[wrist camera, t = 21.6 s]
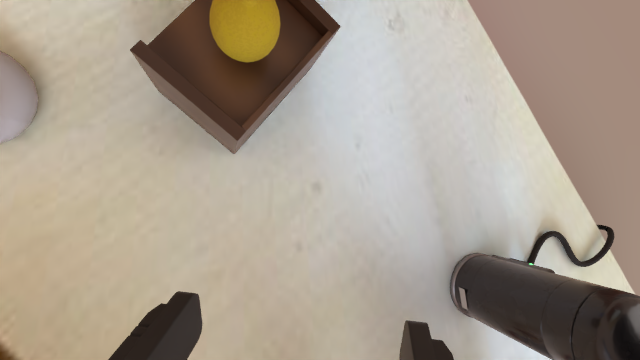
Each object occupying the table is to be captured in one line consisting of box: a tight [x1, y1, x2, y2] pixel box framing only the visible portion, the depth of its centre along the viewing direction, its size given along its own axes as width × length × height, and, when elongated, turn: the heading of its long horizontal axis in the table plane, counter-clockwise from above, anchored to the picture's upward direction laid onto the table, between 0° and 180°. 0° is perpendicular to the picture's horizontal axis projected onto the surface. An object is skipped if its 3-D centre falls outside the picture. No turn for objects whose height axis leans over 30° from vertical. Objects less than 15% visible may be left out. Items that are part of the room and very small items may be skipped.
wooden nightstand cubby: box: [130, 0, 340, 154], centre depth 34 cm, size 15×11×12 cm
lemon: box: [210, 0, 280, 62], centre depth 26 cm, size 6×6×8 cm
